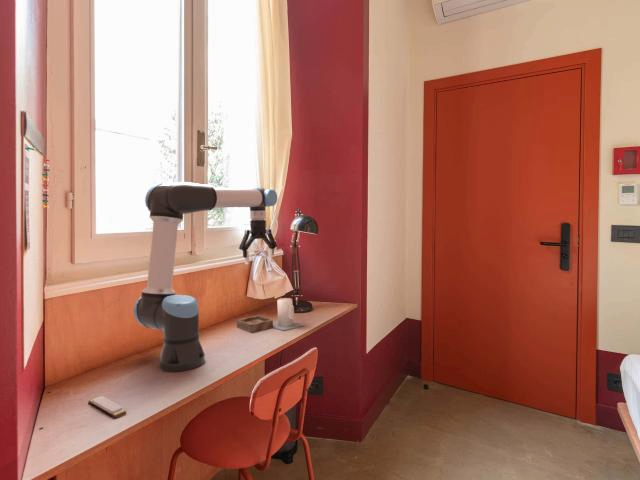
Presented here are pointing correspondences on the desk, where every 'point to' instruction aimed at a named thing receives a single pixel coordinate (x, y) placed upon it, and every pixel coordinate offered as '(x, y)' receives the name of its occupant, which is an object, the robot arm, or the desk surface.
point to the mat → (295, 325)
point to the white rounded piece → (285, 312)
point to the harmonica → (107, 407)
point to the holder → (254, 323)
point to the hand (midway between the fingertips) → (259, 263)
